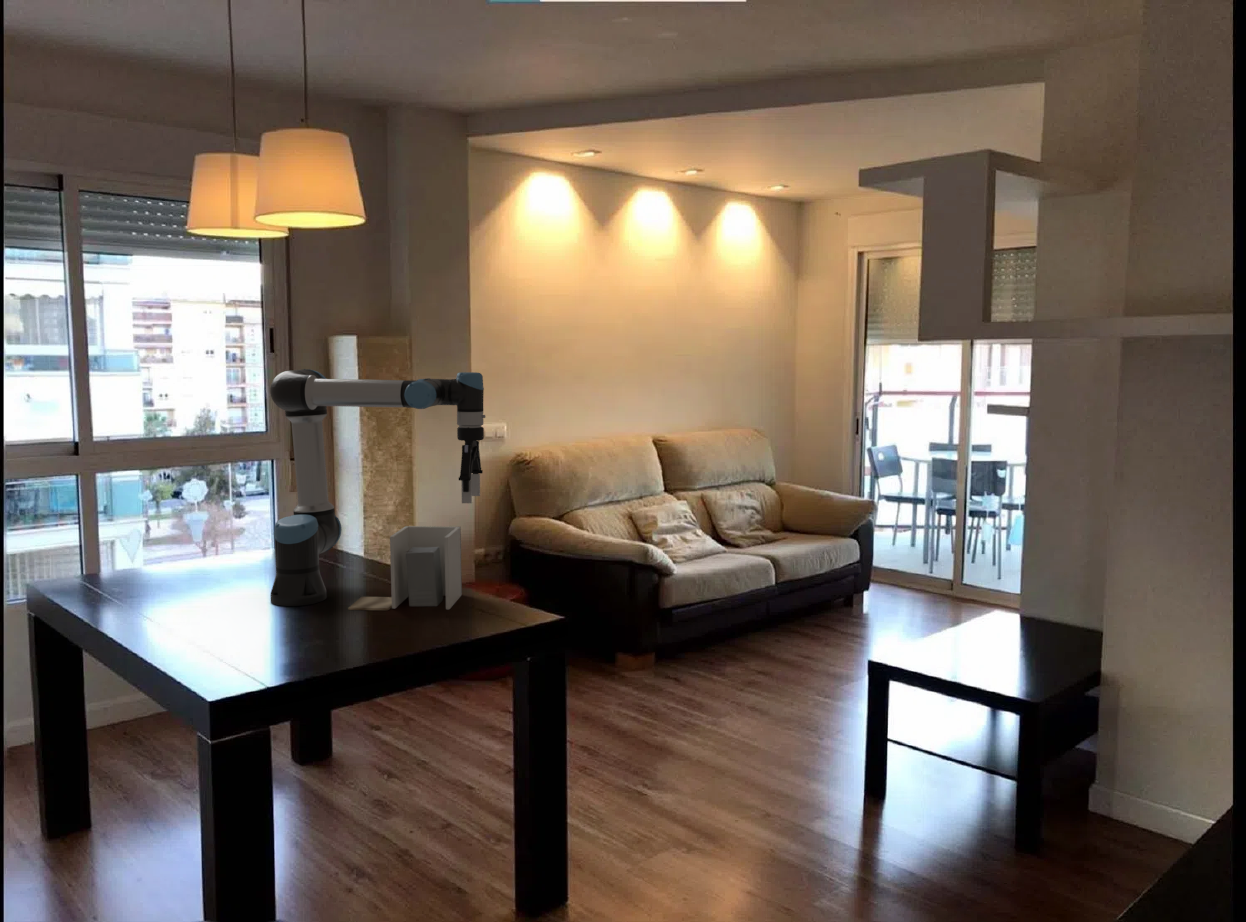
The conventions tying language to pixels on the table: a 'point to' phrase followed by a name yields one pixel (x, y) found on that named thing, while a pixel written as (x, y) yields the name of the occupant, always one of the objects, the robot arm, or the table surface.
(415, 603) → the skincare box
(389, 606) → the cork coaster
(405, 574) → the shelf bay
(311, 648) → the table surface
